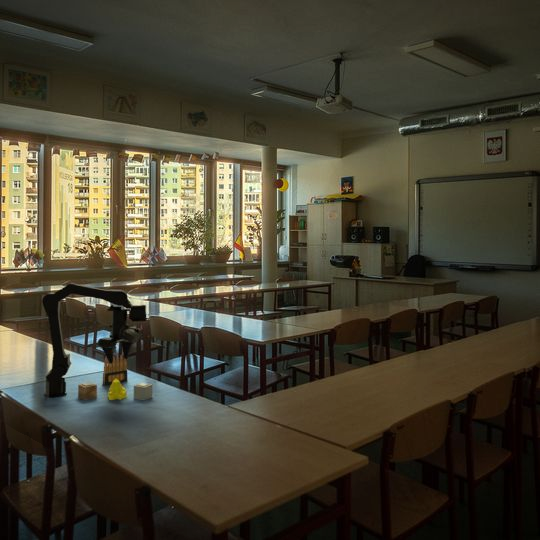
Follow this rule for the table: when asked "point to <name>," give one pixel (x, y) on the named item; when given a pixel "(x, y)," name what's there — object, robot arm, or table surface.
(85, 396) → the walnut tagged block
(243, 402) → the table surface
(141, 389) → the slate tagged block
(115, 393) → the crumpled paper
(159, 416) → the table surface
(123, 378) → the ammunition clip
